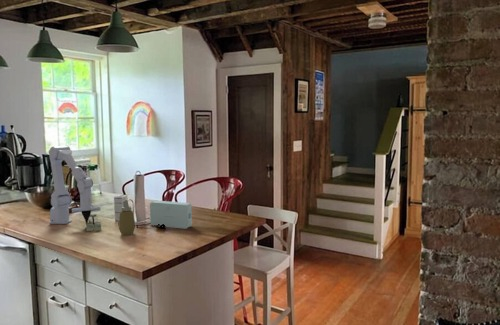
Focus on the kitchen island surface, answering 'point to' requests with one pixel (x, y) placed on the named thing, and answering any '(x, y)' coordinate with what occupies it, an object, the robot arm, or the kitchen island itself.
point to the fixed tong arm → (96, 222)
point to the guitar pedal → (171, 214)
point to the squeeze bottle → (126, 220)
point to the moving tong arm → (90, 224)
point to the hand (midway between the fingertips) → (86, 224)
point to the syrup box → (119, 205)
